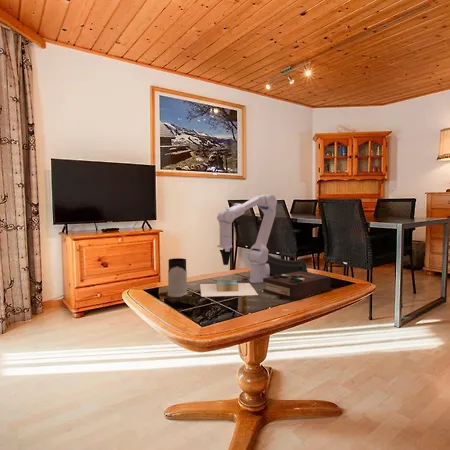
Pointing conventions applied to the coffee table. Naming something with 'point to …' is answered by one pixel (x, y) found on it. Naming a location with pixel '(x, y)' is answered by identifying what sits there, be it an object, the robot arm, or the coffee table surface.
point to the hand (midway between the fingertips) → (225, 264)
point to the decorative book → (296, 284)
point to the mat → (212, 290)
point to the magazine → (285, 266)
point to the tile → (227, 285)
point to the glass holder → (177, 277)
